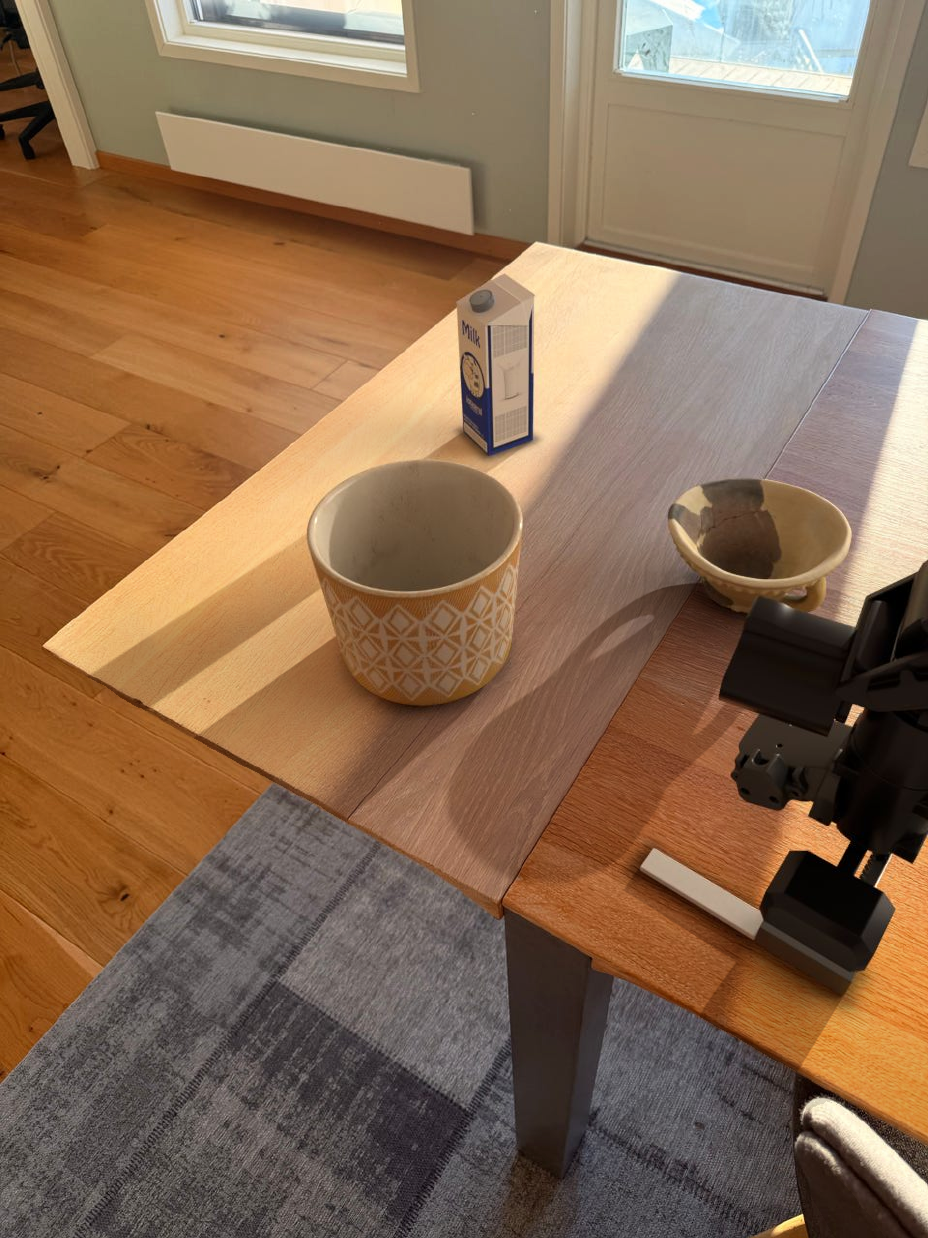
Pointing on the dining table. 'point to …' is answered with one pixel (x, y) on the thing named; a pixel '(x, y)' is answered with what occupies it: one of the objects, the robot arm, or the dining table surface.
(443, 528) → the planter
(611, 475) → the dining table surface
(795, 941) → the two-tone stick
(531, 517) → the dining table surface
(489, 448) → the milk carton
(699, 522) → the bowl
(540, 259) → the dining table surface
